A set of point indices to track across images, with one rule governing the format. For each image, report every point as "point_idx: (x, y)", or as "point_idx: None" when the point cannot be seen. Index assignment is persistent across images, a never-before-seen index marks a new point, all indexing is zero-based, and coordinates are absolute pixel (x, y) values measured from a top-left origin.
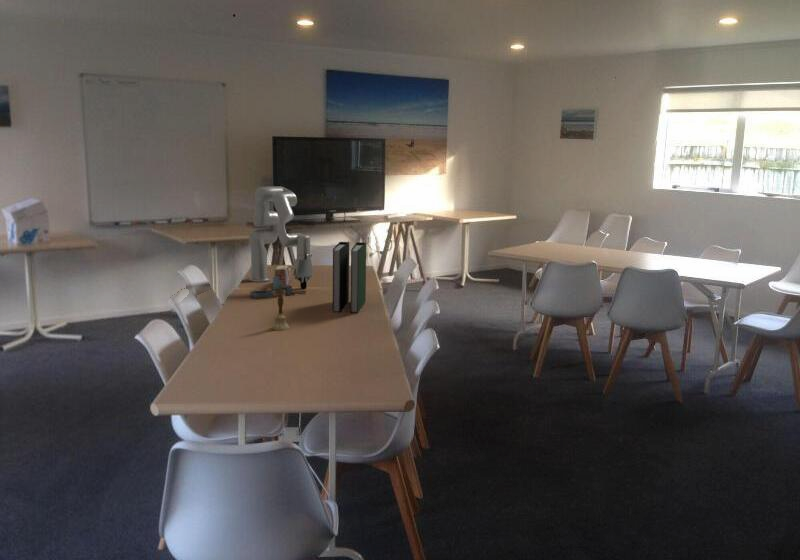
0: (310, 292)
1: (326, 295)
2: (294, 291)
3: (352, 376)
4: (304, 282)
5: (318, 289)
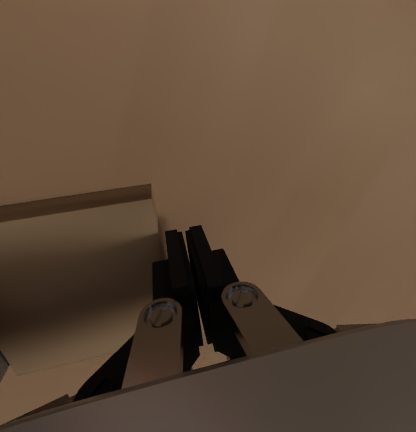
0: (237, 270)
1: None
2: (42, 369)
3: None
4: (209, 336)
5: (368, 165)
